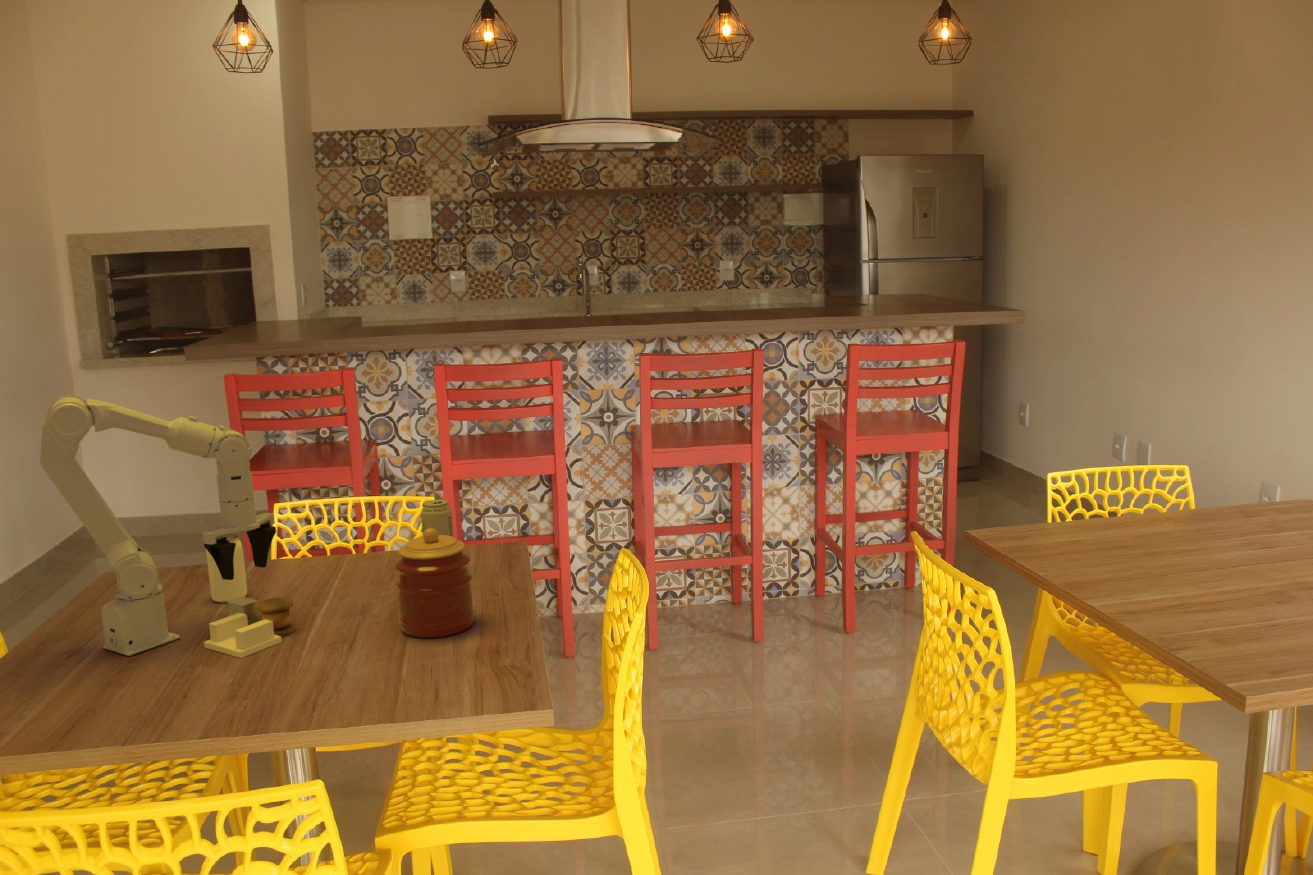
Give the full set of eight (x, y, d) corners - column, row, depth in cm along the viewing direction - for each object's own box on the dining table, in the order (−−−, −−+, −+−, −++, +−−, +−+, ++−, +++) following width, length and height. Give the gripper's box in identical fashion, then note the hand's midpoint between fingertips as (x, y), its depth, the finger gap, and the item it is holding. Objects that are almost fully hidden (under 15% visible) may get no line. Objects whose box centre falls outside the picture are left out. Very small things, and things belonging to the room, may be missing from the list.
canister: (401, 643, 177) (392, 542, 174) (398, 618, 189) (390, 523, 186) (479, 633, 180) (471, 534, 177) (471, 609, 193) (464, 515, 190)
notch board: (240, 658, 173) (238, 635, 173) (204, 647, 179) (201, 624, 178) (281, 642, 180) (279, 619, 179) (245, 632, 185) (242, 610, 185)
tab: (246, 632, 185) (243, 605, 184) (230, 628, 188) (227, 601, 187) (260, 627, 188) (258, 600, 187) (245, 623, 190) (242, 596, 189)
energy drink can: (424, 571, 216) (418, 500, 214) (454, 568, 218) (448, 497, 215) (427, 580, 211) (421, 507, 208) (457, 576, 212) (452, 504, 210)
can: (223, 605, 200) (216, 544, 198) (205, 599, 204) (198, 539, 202) (254, 595, 205) (247, 536, 203) (235, 590, 209) (229, 531, 207)
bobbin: (274, 640, 181) (271, 611, 180) (252, 634, 184) (249, 605, 183) (303, 628, 186) (300, 600, 185) (281, 623, 189) (278, 595, 188)
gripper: (220, 510, 178) (229, 587, 180) (284, 491, 191) (291, 563, 193) (190, 507, 181) (199, 583, 183) (255, 488, 194) (262, 559, 196)
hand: (244, 572), depth 188 cm, fingers open, 7 cm apart
